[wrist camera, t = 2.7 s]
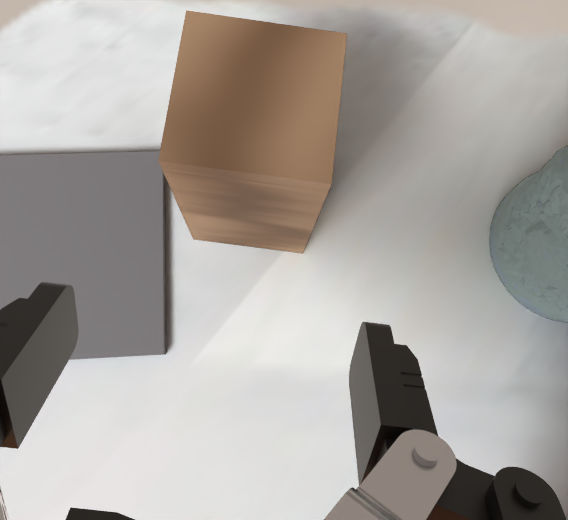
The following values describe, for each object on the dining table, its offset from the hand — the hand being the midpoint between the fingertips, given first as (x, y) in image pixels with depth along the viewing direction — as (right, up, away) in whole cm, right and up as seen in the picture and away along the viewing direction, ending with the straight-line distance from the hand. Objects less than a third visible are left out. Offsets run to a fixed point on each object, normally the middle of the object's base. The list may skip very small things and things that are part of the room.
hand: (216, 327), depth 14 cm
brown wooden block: (0, +5, +14) cm, 15 cm away
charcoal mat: (-10, +2, +13) cm, 17 cm away
